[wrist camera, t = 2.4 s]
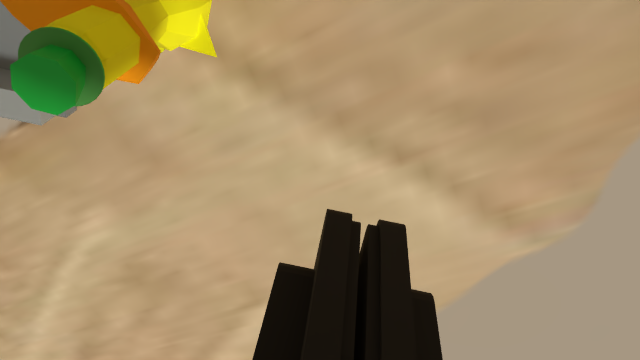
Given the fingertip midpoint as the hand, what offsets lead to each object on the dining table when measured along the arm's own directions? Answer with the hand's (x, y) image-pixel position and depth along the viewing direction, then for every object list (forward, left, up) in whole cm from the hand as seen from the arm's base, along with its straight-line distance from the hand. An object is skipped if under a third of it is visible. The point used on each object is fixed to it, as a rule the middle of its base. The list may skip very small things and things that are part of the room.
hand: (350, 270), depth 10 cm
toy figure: (-2, -9, -15) cm, 17 cm away
